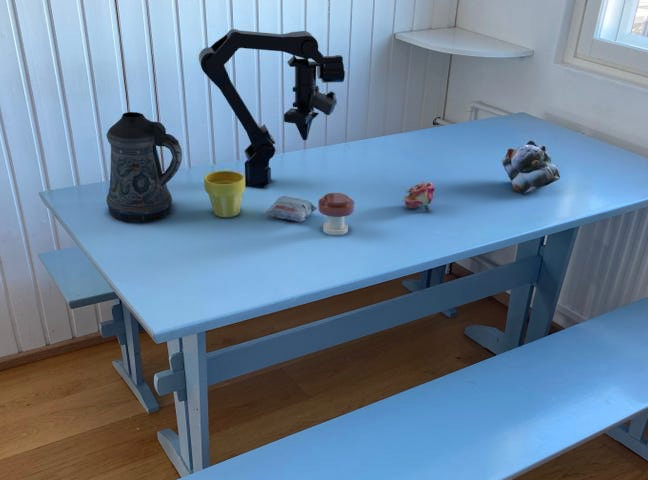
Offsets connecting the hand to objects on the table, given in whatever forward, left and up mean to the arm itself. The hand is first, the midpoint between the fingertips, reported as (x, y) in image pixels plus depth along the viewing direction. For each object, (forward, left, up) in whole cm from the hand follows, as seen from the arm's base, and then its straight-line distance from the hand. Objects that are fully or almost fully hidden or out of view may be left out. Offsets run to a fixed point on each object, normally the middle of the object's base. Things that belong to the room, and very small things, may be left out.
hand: (305, 139), depth 208 cm
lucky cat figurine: (+63, +20, -12) cm, 67 cm away
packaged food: (+5, -26, -12) cm, 29 cm away
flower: (+35, -8, -12) cm, 38 cm away
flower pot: (-12, -29, -12) cm, 34 cm away
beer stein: (-32, -35, -12) cm, 49 cm away
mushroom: (+18, -29, -12) cm, 36 cm away
